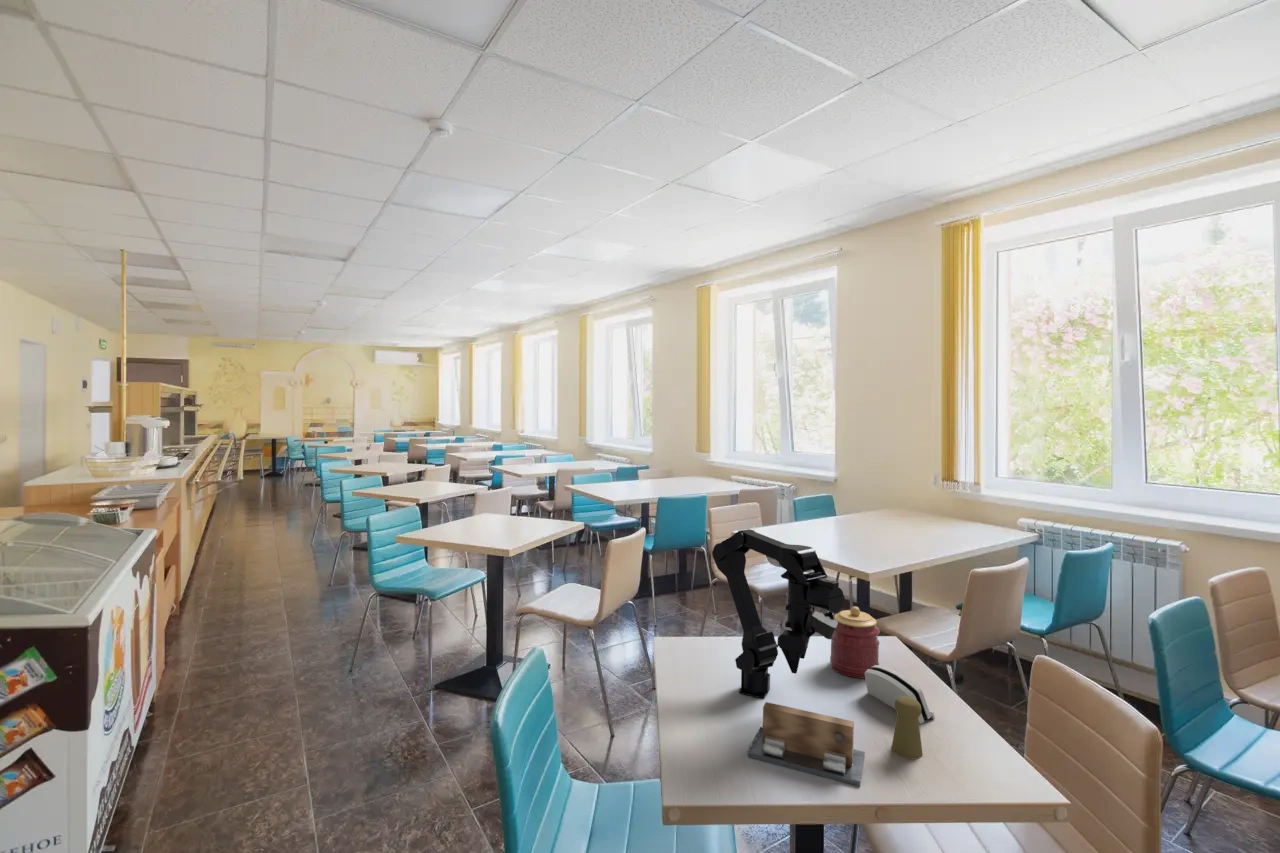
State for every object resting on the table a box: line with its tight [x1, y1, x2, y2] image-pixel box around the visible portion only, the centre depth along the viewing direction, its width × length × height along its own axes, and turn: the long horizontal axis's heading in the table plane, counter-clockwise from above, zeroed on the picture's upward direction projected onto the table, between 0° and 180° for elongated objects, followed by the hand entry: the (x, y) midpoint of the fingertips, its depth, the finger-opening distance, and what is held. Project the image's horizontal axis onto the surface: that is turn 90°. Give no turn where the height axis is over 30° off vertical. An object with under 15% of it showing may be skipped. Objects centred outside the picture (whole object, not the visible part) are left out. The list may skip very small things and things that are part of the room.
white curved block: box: [864, 664, 936, 725], centre depth 144 cm, size 17×5×10 cm, turn 23°
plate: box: [747, 726, 866, 787], centre depth 122 cm, size 22×11×4 cm, turn 65°
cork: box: [891, 696, 924, 760], centre depth 125 cm, size 6×6×11 cm
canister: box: [829, 606, 881, 679], centre depth 165 cm, size 13×13×18 cm
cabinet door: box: [762, 701, 855, 766], centre depth 122 cm, size 18×4×8 cm, turn 65°
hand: (798, 665), depth 139 cm, fingers open, 9 cm apart
